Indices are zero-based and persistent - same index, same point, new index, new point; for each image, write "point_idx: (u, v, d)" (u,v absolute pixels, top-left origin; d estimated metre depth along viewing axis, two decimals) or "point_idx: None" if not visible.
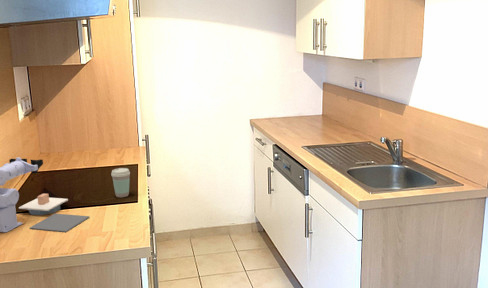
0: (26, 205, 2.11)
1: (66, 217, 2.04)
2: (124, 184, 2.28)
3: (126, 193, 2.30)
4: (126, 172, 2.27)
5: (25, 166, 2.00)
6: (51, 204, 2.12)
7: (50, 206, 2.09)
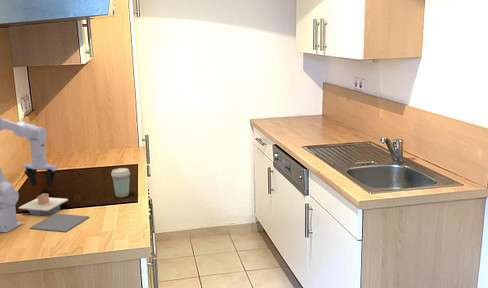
0: (26, 205, 2.11)
1: (66, 217, 2.04)
2: (124, 184, 2.28)
3: (126, 193, 2.30)
4: (126, 172, 2.27)
5: (46, 165, 2.10)
6: (51, 204, 2.12)
7: (50, 206, 2.09)
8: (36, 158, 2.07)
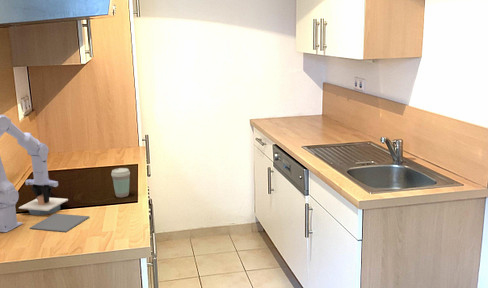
0: (26, 205, 2.11)
1: (66, 217, 2.04)
2: (124, 184, 2.28)
3: (126, 193, 2.30)
4: (126, 172, 2.27)
5: (48, 181, 2.11)
6: (51, 204, 2.12)
7: (50, 206, 2.09)
8: (38, 174, 2.08)
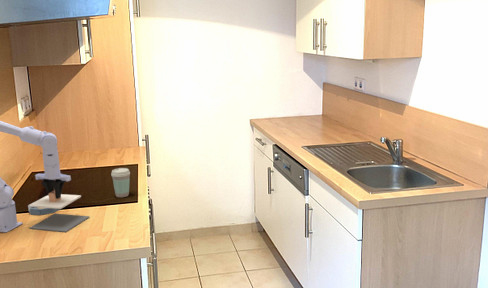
0: (37, 202, 1.97)
1: (66, 217, 2.04)
2: (124, 184, 2.28)
3: (126, 193, 2.30)
4: (126, 172, 2.27)
5: (60, 175, 1.97)
6: (63, 201, 1.98)
7: (62, 203, 1.95)
8: (49, 168, 1.94)
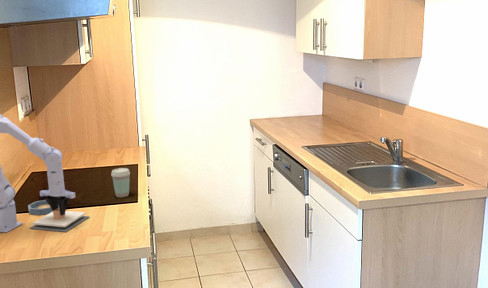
0: (41, 220, 1.96)
1: None
2: (124, 184, 2.28)
3: (126, 193, 2.30)
4: (126, 172, 2.27)
5: (64, 192, 1.96)
6: (68, 219, 1.96)
7: (67, 221, 1.94)
8: (54, 185, 1.93)
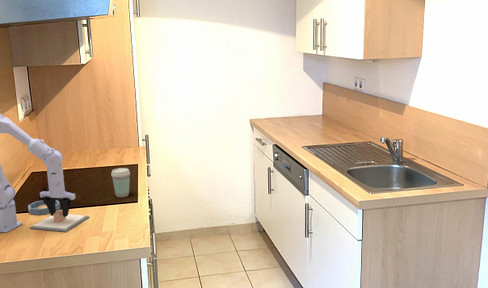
0: (42, 222, 1.96)
1: None
2: (124, 184, 2.28)
3: (126, 193, 2.30)
4: (126, 172, 2.27)
5: (64, 193, 1.96)
6: (68, 222, 1.96)
7: (67, 224, 1.94)
8: (54, 186, 1.93)
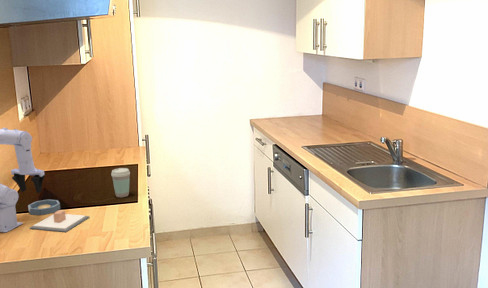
0: (42, 222, 1.96)
1: None
2: (124, 184, 2.28)
3: (126, 193, 2.30)
4: (126, 172, 2.27)
5: (34, 170, 2.02)
6: (68, 222, 1.96)
7: (67, 224, 1.94)
8: (22, 164, 1.98)
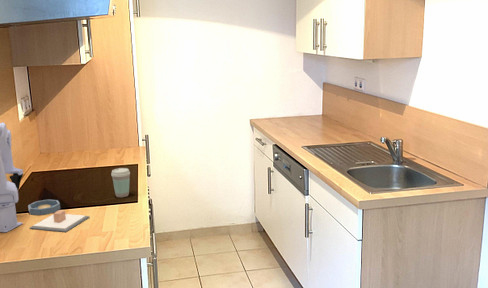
0: (42, 222, 1.96)
1: None
2: (124, 184, 2.28)
3: (126, 193, 2.30)
4: (126, 172, 2.27)
5: (13, 169, 2.05)
6: (68, 222, 1.96)
7: (67, 224, 1.94)
8: (2, 162, 2.02)
